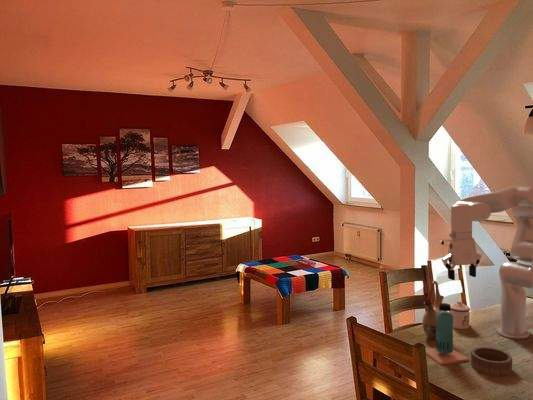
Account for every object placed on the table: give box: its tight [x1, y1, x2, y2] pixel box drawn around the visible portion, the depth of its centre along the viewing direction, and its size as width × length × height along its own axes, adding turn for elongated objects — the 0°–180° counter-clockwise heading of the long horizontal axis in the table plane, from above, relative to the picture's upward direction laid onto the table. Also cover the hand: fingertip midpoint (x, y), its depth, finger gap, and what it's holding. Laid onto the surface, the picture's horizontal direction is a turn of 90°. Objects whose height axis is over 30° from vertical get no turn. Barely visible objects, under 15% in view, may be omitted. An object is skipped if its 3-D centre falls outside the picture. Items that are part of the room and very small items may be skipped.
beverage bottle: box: [435, 302, 454, 353], centre depth 168 cm, size 6×7×20 cm
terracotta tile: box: [425, 347, 469, 366], centre depth 169 cm, size 12×12×1 cm
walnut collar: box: [470, 346, 513, 378], centre depth 158 cm, size 13×13×5 cm
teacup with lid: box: [448, 300, 471, 330], centre depth 200 cm, size 12×9×12 cm
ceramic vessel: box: [421, 280, 445, 340], centre depth 186 cm, size 16×9×25 cm, turn 138°
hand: (462, 277), depth 171 cm, fingers open, 9 cm apart
